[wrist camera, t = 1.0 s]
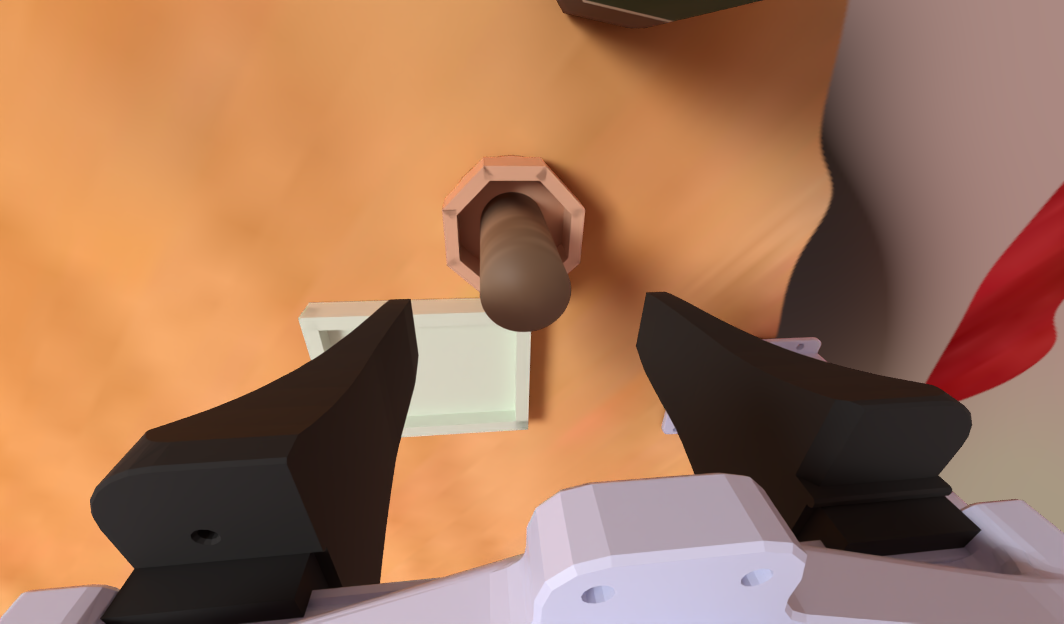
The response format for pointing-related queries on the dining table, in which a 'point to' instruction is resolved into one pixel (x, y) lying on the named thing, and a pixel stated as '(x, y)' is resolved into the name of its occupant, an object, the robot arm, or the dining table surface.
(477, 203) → the holder
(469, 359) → the tray
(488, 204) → the peg
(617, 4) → the beer bottle
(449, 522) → the dining table surface
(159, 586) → the robot arm
